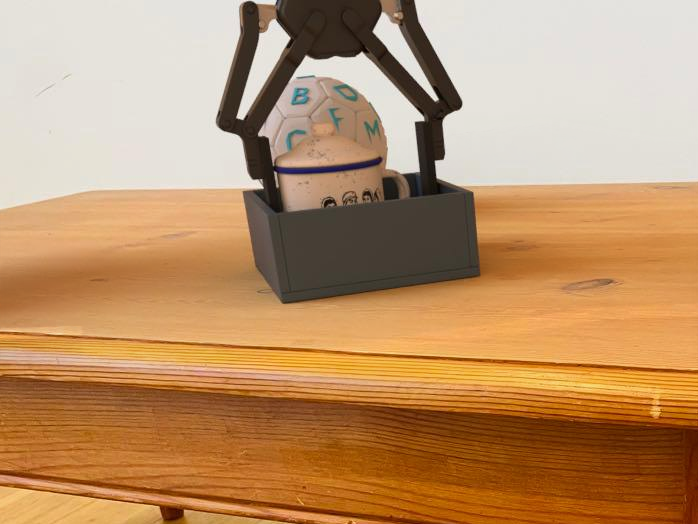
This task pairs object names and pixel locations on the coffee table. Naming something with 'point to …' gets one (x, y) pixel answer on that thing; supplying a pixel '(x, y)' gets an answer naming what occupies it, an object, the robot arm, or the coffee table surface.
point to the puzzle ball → (322, 116)
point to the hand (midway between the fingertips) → (354, 210)
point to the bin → (365, 242)
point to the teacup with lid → (332, 172)
